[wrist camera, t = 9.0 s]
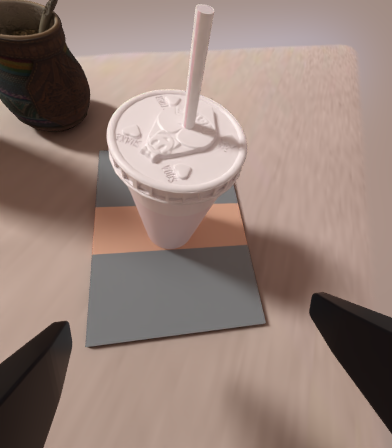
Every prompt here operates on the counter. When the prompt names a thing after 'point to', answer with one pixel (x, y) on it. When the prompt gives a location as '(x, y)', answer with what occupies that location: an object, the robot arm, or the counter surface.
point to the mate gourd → (39, 68)
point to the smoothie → (177, 149)
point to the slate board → (166, 272)
